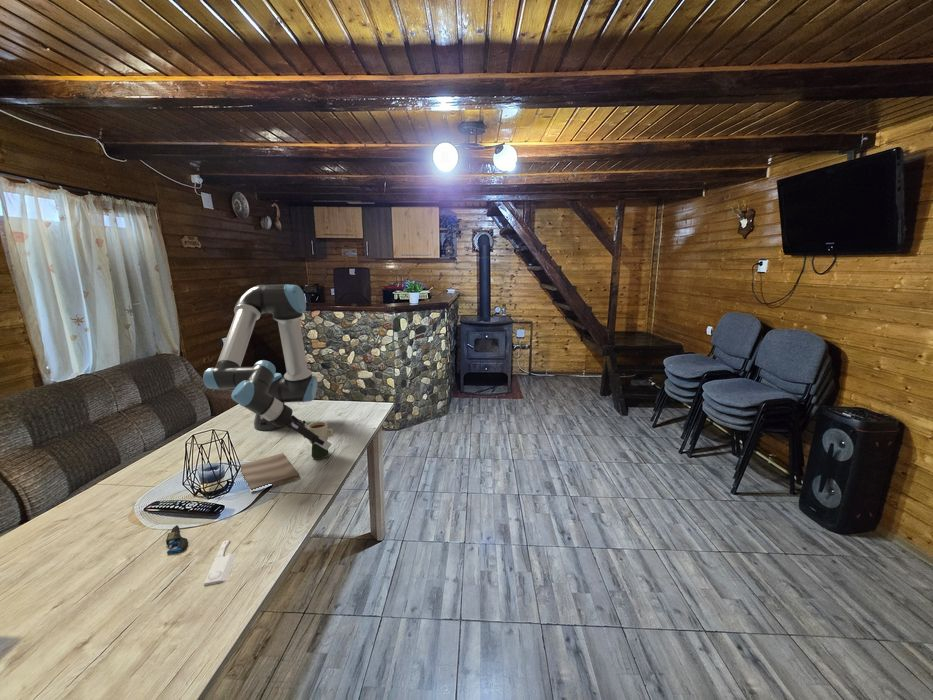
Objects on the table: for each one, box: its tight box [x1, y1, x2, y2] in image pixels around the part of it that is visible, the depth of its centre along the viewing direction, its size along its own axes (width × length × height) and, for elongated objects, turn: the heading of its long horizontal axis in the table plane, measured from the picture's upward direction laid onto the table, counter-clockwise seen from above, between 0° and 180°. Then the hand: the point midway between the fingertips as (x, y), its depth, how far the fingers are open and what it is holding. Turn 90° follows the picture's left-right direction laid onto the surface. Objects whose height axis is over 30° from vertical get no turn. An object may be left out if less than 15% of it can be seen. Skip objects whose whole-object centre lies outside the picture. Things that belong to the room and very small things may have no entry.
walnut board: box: [240, 452, 300, 490], centre depth 140 cm, size 20×15×2 cm
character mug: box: [302, 420, 334, 460], centre depth 151 cm, size 11×7×13 cm, turn 98°
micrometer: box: [165, 524, 189, 555], centre depth 106 cm, size 12×2×5 cm
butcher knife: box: [203, 539, 238, 586], centre depth 99 cm, size 5×15×1 cm, turn 16°
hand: (322, 440), depth 152 cm, fingers open, 13 cm apart
